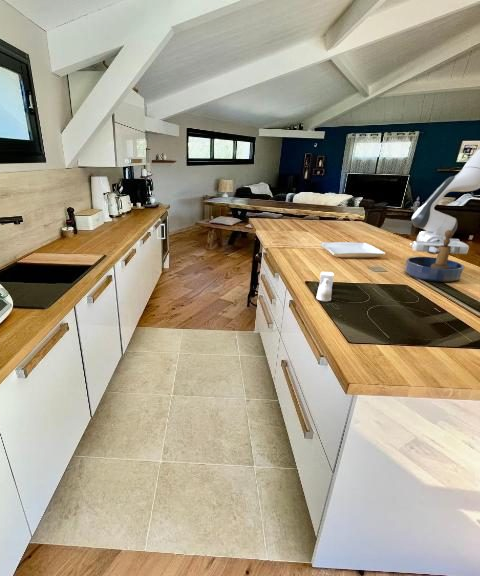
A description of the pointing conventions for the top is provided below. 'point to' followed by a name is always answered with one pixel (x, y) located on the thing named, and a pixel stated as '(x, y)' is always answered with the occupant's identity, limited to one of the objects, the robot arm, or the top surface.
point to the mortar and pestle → (443, 252)
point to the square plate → (352, 250)
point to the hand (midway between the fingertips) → (445, 251)
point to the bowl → (433, 269)
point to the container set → (325, 286)
